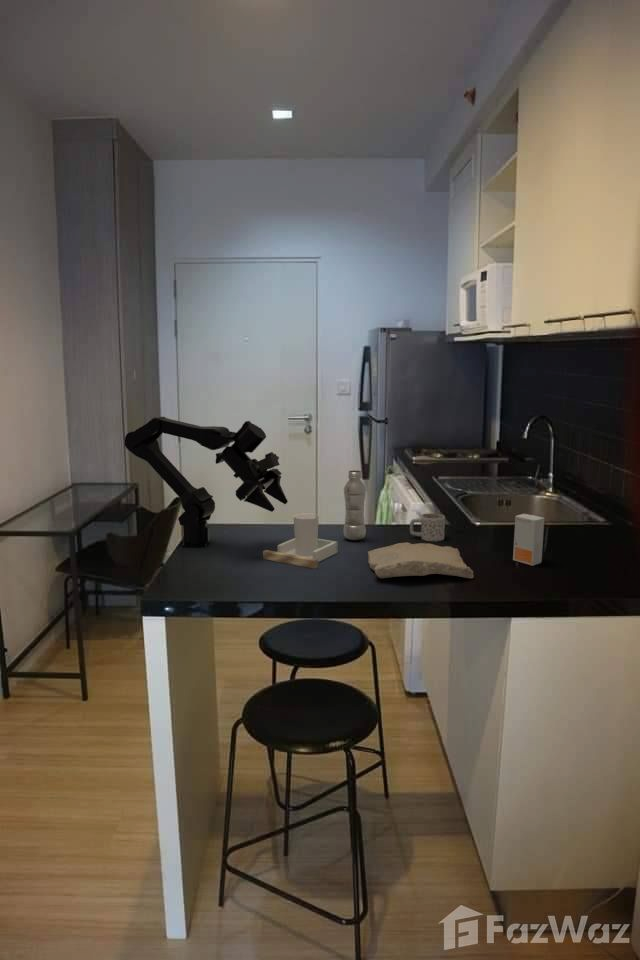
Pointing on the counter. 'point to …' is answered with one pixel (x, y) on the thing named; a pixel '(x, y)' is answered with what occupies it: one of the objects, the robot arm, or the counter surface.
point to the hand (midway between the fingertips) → (280, 506)
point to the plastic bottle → (354, 507)
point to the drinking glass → (306, 533)
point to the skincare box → (528, 539)
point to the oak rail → (290, 559)
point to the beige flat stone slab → (417, 561)
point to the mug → (430, 527)
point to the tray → (323, 551)
